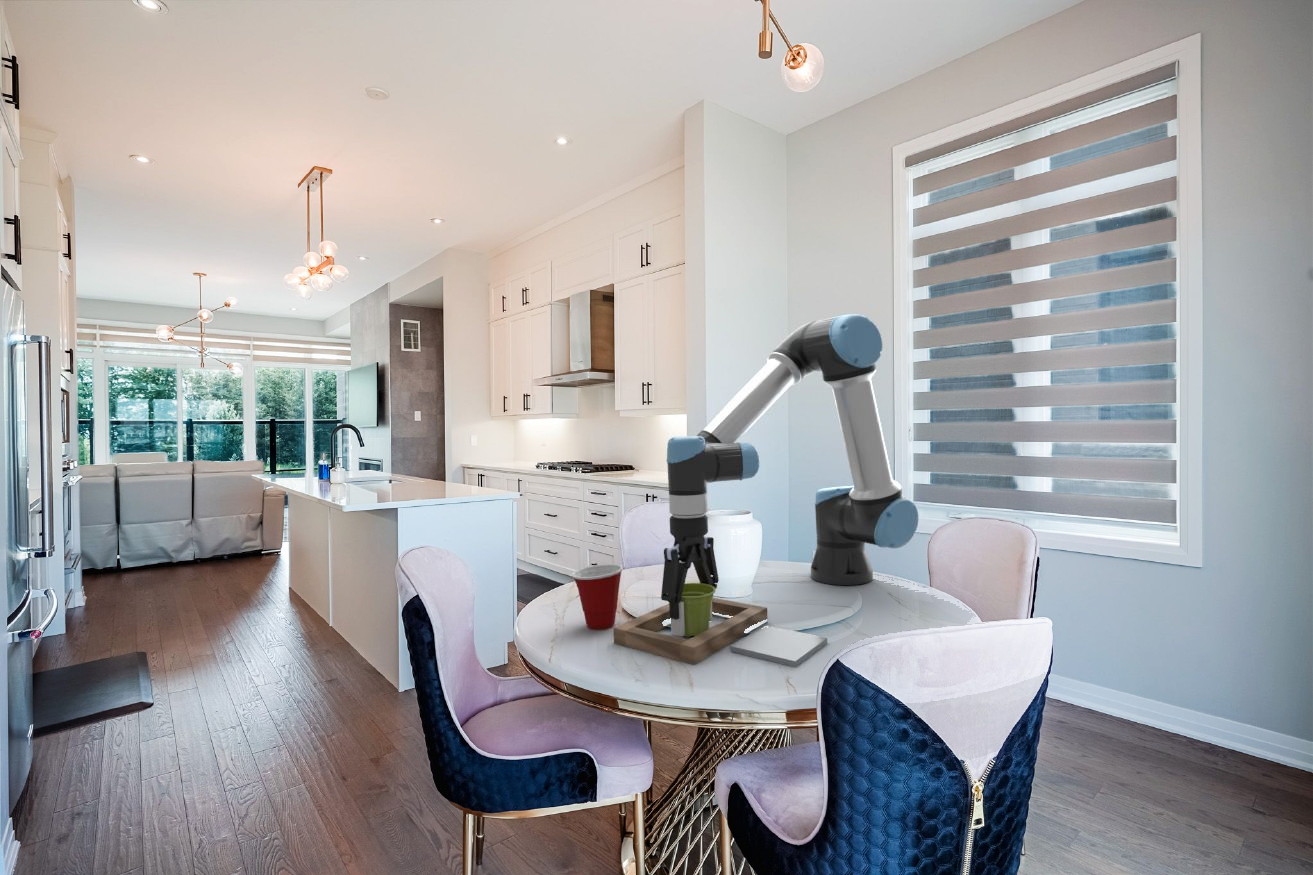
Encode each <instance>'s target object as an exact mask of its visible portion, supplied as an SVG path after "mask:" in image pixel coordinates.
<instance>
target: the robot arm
mask: <svg viewBox="0 0 1313 875" xmlns="http://www.w3.org/2000/svg"><path fill="white" fill-rule="evenodd" d="M882 351H883V337H882V334H881V332H880V329H879V328H878V326H877V325H876V324H875V322H873V320H871V319H869V318H868V317H867V316H865V315H862V314H857V313H855V314H842V315H837V316H834V317H829V318H826V319H820V320H815V321H810V322H807V323H805V324H803V325H801V326H799V327H798V328H796V330H794V331H793V332H792V333H790V334H789V335H788V336H787V337H786V338H785V339H784V340H782V342H781V343H779V344H778V345H777V346H776V347H775V349H773V351H771V353H770V354H769V355H768V356H767V363H766V364H765V365H764V366H763V367H762V368H761V369H760V370H759V371H758V372H757V373H756V374H755V375H754V376H753V377H752V378H751V379H750V380H749V381H748V383H746V384H745V385H744V387H743V388H741V389H740V391H738V393H737V394H736V395H734V397H733V398H732V399H731V400H730V401H729V402H728V403H727V404H726V405H725V406H724V407H723V408H722V409H721V410H720V411H719V412H718V413H717V415H715V416H714V417H713V418H712V420H711V421H710V422H708V424H707V425H706V426H705V427H704V428H703V429H702V430H701V431H700V432H699V433H698V434H697V435H692V436H691V435H690V436H689V435H688V436H675V437H671V438H669V439H668V440H667V448H666V449H667V450H666V464H667V479H668V484H667V485H668V499H669V500H668V503H669V505H668V506H669V514H671V516H670V517H669V533H670V535H671V536H673V538H674V542H673V546H672V547H669V548H668V547H665V548H664V549H663V557H664V558H663V559H664V565H663V574H662V576H663V577H662V582H661V583H662V586H661V594H660V599H661V600H662V601H665V602H668V604H669V611H670V618H671V625H670V632H671V633H670V634H672V635H676V636H680V637H683V636H684V635H685V625H684V602H682V601H681V597H682V592H683V588H684V584H685V583H686V579H687V575H688V571H689V569H690V568H691V567H692V564H693V568H694V570H695V573H696V575H697V578H698V580H699V583H704V584H708V585H711V586H713V587H714V588H715V590H716V589H717V588H718V583H719V581H720V580H719V574H718V568H717V562H716V556H715V549H714V541H715V539H714V537H710V536H706V535H707V534H708V533H709V523H708V522H709V521H708V520H709V519H708V518H709V517H708V516H707V513H708V511H709V509H708V507H709V506H708V493H707V492H708V490H707V489H708V488H707V486H708V484H707V483H709V484H710V483H715V482H717V483H718V482H727V481H743V480H747V479H751V478H754V477H755V476H756V475H757V474H758V472H759V469H760V456H759V452H758V450H757V448H756V446H755V445H753V444H752V443H749V442H739V440H740V439H741V438H742V437H743V436H744V435H745V433H747V432H748V430H750V428H752V426H754V424H755V423H756V422H757V421H758V419H760V418H761V417H762V416H763V415H764V414H765V413H766V412H767V410H769V409H770V407H771V406H772V405H773V404H774V403H775V402H776V401H777V400H778V399H779V398H780V397H781V396H782V395H783V394H784V392H786V391H787V389H788V388H790V387H791V386H794V385H795V386H796V385H797V384H799V383H800V382H801V381H802V380H803V379H804V378H805V377H807V376H809V375H812V374H813V373H816V372H821V377H822V380H823V383H824V384H826V385H828V386H829V387H830V388H831V389H832V394H833V398H834V402H835V407H836V411H837V416H838V421H839V424H840V425H839V426H840V429H841V434H842V438H843V442H844V448H845V452H846V455H847V460H848V465H849V469H850V475H851V478H852V482H853V485H848V486H847V485H845V486H835V487H825V488H821V489H818V491H817V492H816V494H815V503H814V509H815V510H814V511H815V527H816V528H815V531H816V550H815V552H814V556H813V559H812V562H811V566H810V578H811V579H812V580H814V581H816V582H819V583H822V584H823V583H824V584H827V585H828V584H829V585H837V586H854V585H862V584H867V583H869V582H871V581H873V579H874V576H873V575H874V572H873V567H872V564H871V561H870V559H869V556H868V553H867V551H866V546H865V544H869V545H873V546H878V547H879V548H882V549H883V548H885V549H886V548H888V549H899V548H902V547H903V546H906V545H907V544H908V543H909V542H910V541H911V540H912V539H913V537H914V535H915V533H916V531H917V528H918V525H919V518H920V517H919V516H920V515H919V511H918V508H917V506H916V504H915V503H914V502H913V501H912V500H910V498H906V497H904V494H903V490H902V489H903V488H902V485H901V484H900V483H899V482H898V481H896V480H895V479H893V476H892V471H891V466H890V462H889V458H888V457H889V456H888V452H887V447H886V443H885V439H884V434H883V430H882V429H883V428H882V424H881V420H880V414H879V410H878V406H877V401H876V396H875V392H874V387H873V382H872V377H874V375H875V373H876V372H877V366H876V363H877V362H878V361H879V360H880V358H881V356H882V354H881V352H882ZM675 594H676V596H675ZM712 620H713V615H712V600H711V609H710V618H709V621H712ZM712 622H713V621H712ZM684 637H685V636H684Z"/></svg>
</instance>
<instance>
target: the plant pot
mask: <svg viewBox="0 0 1313 875" xmlns="http://www.w3.org/2000/svg"><path fill="white" fill-rule="evenodd" d="M714 593H716V589H715V588H714V587H713V586H711V585H708V584H704V583H700V582H685V584H684V588H683V592H682V597H681V601H682V602H684V625H685V635H684V637H686V638H687V637H689V638H690V637H692V636H693V637H695V636H697V635H699V634H700V633H702V632H704V631H706V630H708V627H709V625H710V622H709V618H710V609H711V600H712V599H713V598H714ZM675 596H676V594H675ZM709 628H710V627H709Z"/></svg>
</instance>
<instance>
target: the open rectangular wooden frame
mask: <svg viewBox="0 0 1313 875" xmlns="http://www.w3.org/2000/svg"><path fill="white" fill-rule="evenodd" d="M712 612H714V613H719V614H722V615H729V616H733V617H731V618H729V619H728V618H726V619H725V620H723V621H722V622H720V623H718V624H716V625H714V626H712V627H709V629H708V630H706V631H704V632H702V633H700V634H699V635H697V636H693V637H691V638H689V639H685V638H681V637H677V636H673V635H669V634H665V633H660V632H658V631H660V630H663V629H664V628H666V627H665V626H663V624H662V622H663V621H664V620H666V619H670V611H669V603H667V604H666V605H663V606H660V607H658V608H656V609H654V610H653V609H652V611H649V612H646V613H643V614H641V615H640V616H637V617H635V618H632V619H630V620H628V621H626V622H624V623H621V624H619V625H617V626H615V627H614V626H613V629H612V630H613V631H612V632H613V644H616V645H619V646H624V647H627V648H631V649H635V650H638V651H642V652H646V653H650V654H653V655H655V656H656V655H657V656H662V657H663V658H664V657H665V658H667V659H668V658H669V659H671V660H676V661H679V662H683V663H686V664H690V665H696V664H698V663H700V662H701V661H703V660H705V659H707V658H708V657H710V656H711V655H714V654H715V653H717V652H719V651H720V650H722V649H724V648H726V647H727V646H728V645H729V646H730V645H732V644H733V642H734V643H735V642H737V640H740V639H742V637H743V638H744V637H745V636H747V634H746V633H744V631H745V629H747V628H749V627H750V626H752V625H754V624H757V623H758V622H761V621H763V620H766V619H768V607H766V606H761V605H755V604H750V603H744V602H739V601H734V600H727V599H723V598H717V597H713V599H712Z"/></svg>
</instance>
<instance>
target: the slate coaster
mask: <svg viewBox="0 0 1313 875" xmlns="http://www.w3.org/2000/svg"><path fill="white" fill-rule="evenodd" d="M761 627H762V628H763V626H761ZM761 627H759V628H757V629H755V631H752V632H750V633H749V634H747V635H745V636H743V638H740V639H738V641H735V642H734V643H732V644H730V645H729V649H730V650H729V651H730V652H731V653H736V654H740V655H743V656H748V657H752V658H757V659H760V660H765V661H770V662H773V663H777V664H781V665H785V666H790V667H793V668H796V667H797V666H799V665H800V664H802V663H803V662H804V661H805V660H806V659H808V658H810V657H811V656H812V655H814V654H815V653H816V652H818V651H819V650H821V649H822V648H823V647H824V646H826V645H827V644H828V637H824V636H820V635H815V634H810V633H806V632H805V633H804V632H800V631H796V630H792V629H791V630H790V629H787V628H781V627H775V626H771V627H768V628H767V627H765V628H763V629H761Z"/></svg>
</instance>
